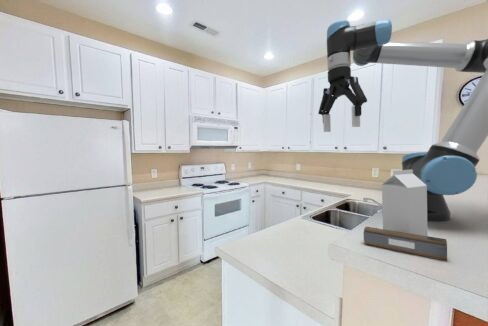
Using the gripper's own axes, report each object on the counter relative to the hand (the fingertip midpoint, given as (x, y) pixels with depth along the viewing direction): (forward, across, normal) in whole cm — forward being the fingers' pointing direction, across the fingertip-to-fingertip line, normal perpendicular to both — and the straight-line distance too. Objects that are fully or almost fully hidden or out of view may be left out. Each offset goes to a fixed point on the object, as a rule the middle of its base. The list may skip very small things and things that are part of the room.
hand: (340, 129), depth 78 cm
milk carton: (+33, +21, +1) cm, 39 cm away
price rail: (+33, +25, -6) cm, 42 cm away
